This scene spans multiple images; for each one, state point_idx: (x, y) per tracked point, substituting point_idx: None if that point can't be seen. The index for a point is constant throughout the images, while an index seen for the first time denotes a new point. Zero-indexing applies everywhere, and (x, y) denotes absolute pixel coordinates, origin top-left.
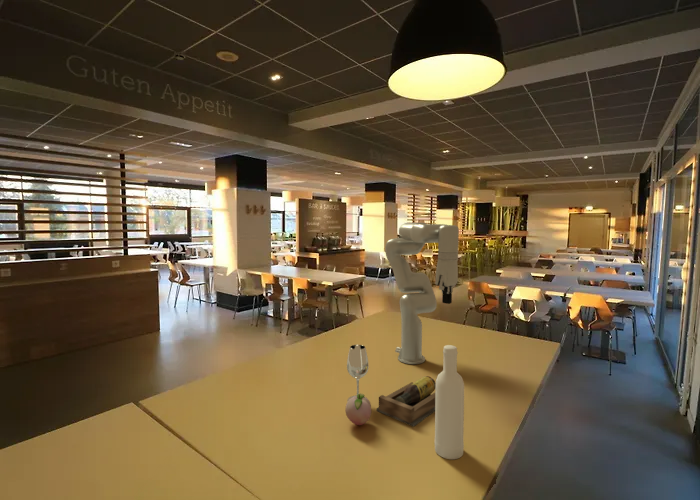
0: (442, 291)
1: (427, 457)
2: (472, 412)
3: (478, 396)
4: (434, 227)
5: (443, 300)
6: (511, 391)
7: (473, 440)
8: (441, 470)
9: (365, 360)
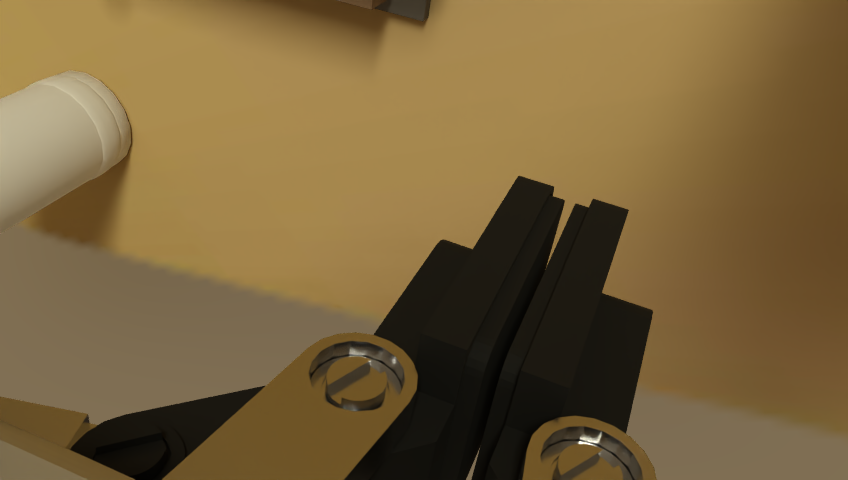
0: (243, 392)
1: (17, 60)
2: (397, 157)
3: (599, 165)
4: None
5: (437, 244)
6: (763, 328)
7: (200, 185)
8: None
9: None
